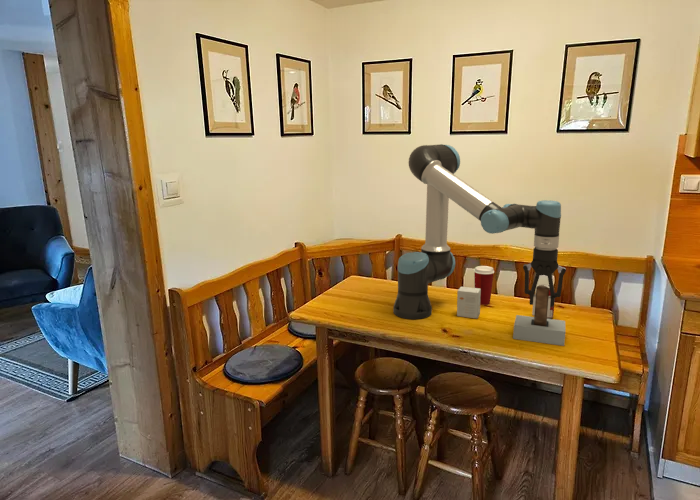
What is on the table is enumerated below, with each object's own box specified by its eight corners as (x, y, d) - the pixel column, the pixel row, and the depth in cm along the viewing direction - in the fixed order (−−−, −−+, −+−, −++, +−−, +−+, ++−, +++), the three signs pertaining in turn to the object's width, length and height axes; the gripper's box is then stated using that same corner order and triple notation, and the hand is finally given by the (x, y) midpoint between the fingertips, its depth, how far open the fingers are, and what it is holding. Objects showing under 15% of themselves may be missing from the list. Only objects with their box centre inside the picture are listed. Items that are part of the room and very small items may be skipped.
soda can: (554, 320, 178) (557, 290, 175) (535, 319, 179) (538, 289, 176) (551, 314, 184) (553, 284, 182) (532, 313, 186) (535, 283, 183)
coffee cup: (495, 301, 199) (497, 267, 196) (489, 307, 193) (491, 271, 189) (475, 298, 204) (477, 264, 200) (469, 303, 197) (470, 269, 194)
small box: (480, 314, 186) (481, 288, 183) (477, 319, 181) (478, 292, 179) (459, 311, 189) (460, 286, 187) (456, 316, 184) (457, 290, 182)
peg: (533, 327, 162) (536, 288, 159) (534, 323, 166) (536, 285, 163) (546, 329, 161) (549, 289, 157) (546, 325, 164) (549, 286, 161)
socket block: (513, 338, 163) (514, 325, 162) (515, 327, 172) (516, 314, 171) (564, 345, 157) (565, 331, 156) (563, 334, 166) (565, 320, 165)
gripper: (517, 248, 157) (513, 315, 162) (574, 252, 150) (568, 321, 156) (519, 243, 164) (515, 308, 169) (573, 247, 157) (568, 313, 162)
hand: (540, 314), depth 162 cm, fingers closed on peg, 4 cm apart
